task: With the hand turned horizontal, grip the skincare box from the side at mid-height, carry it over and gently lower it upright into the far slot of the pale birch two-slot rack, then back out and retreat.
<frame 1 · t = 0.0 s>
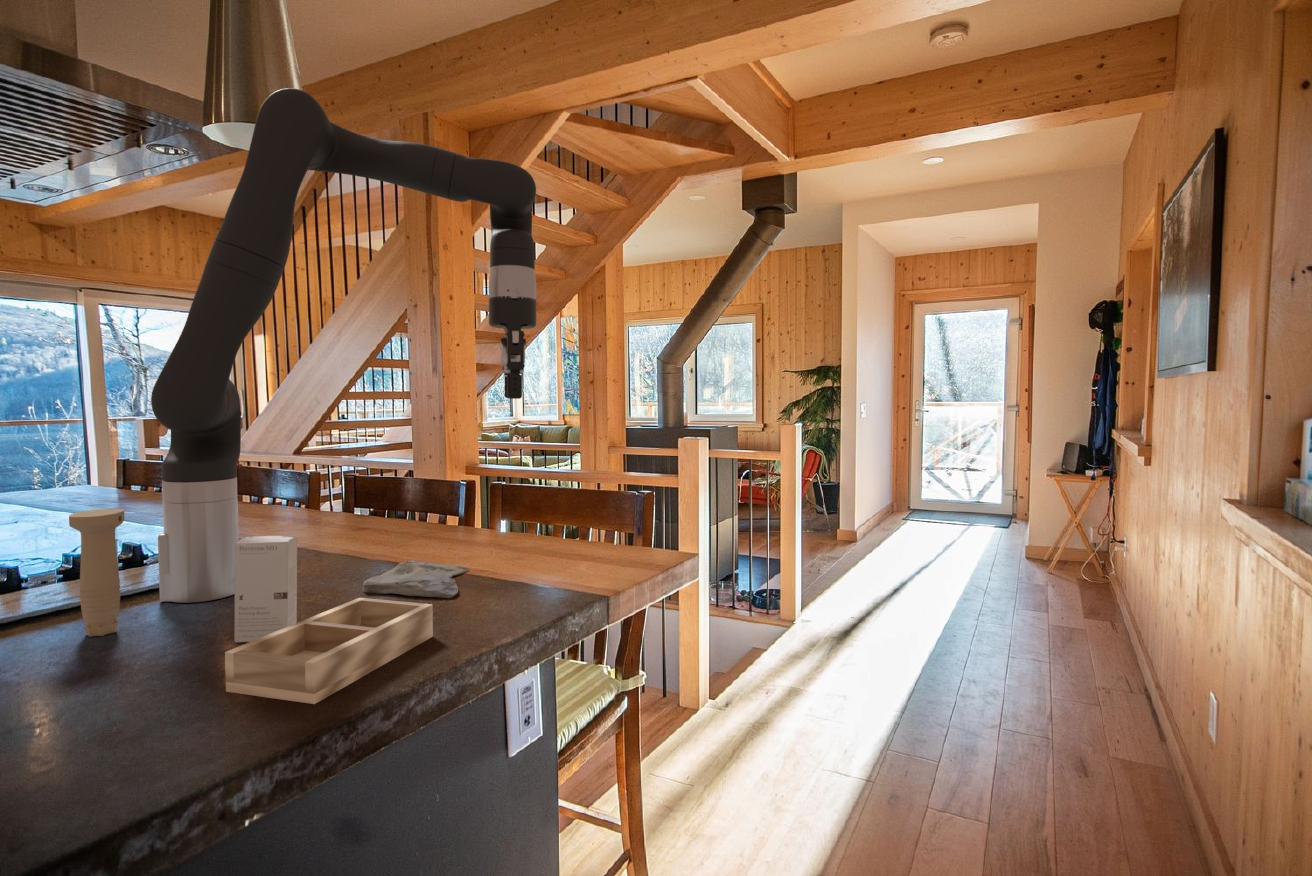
hand: (513, 398, 114), 29 cm above the kitchen island, tool pointing down, fingers open, 8 cm apart
handle: (101, 634, 87), on the kitchen island
fossil rock: (424, 586, 112), on the kitchen island
skincare box: (268, 637, 86), on the kitchen island
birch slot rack: (340, 661, 78), on the kitchen island
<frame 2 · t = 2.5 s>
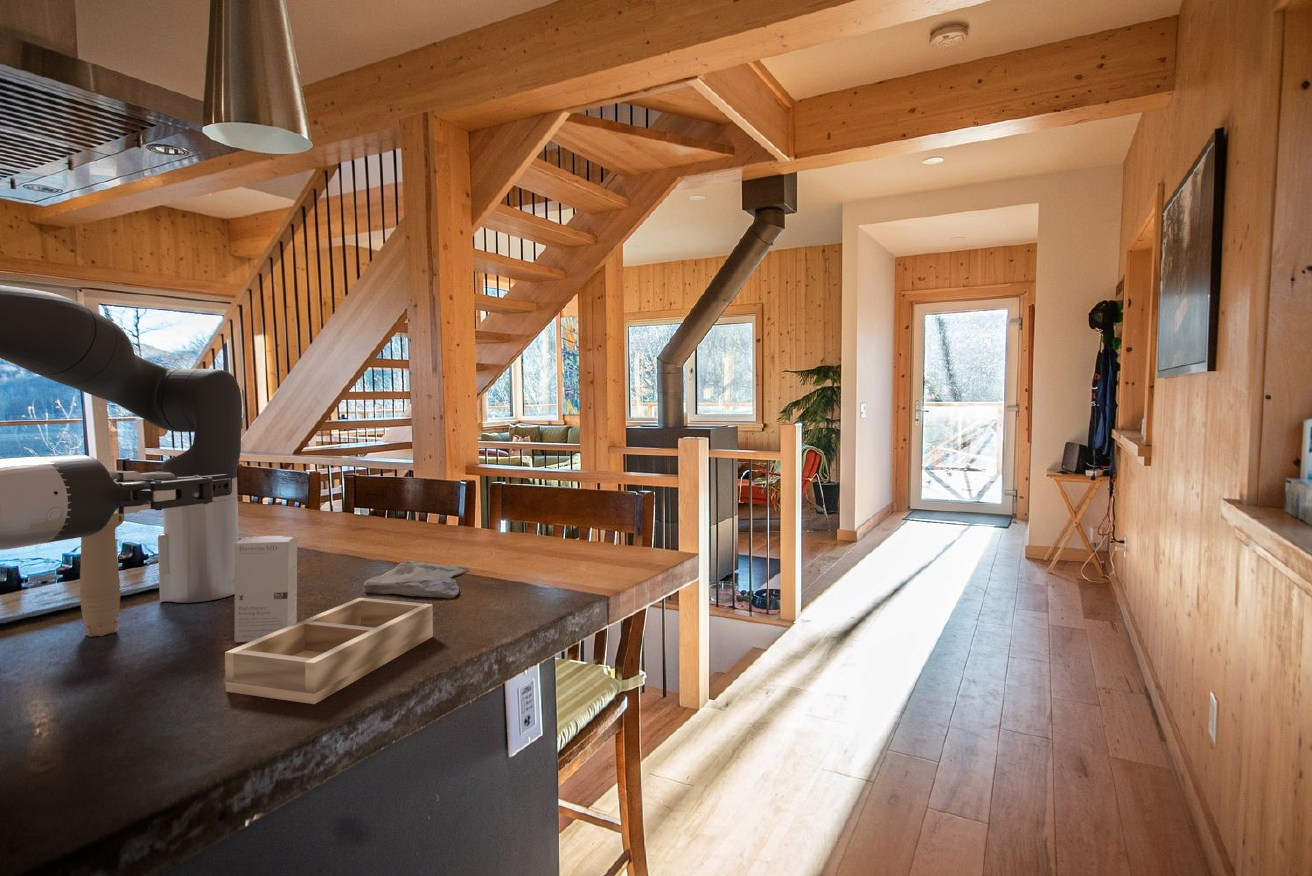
hand: (196, 482, 76), 20 cm above the kitchen island, tool horizontal, fingers open, 8 cm apart
nothing on the kitchen island moved.
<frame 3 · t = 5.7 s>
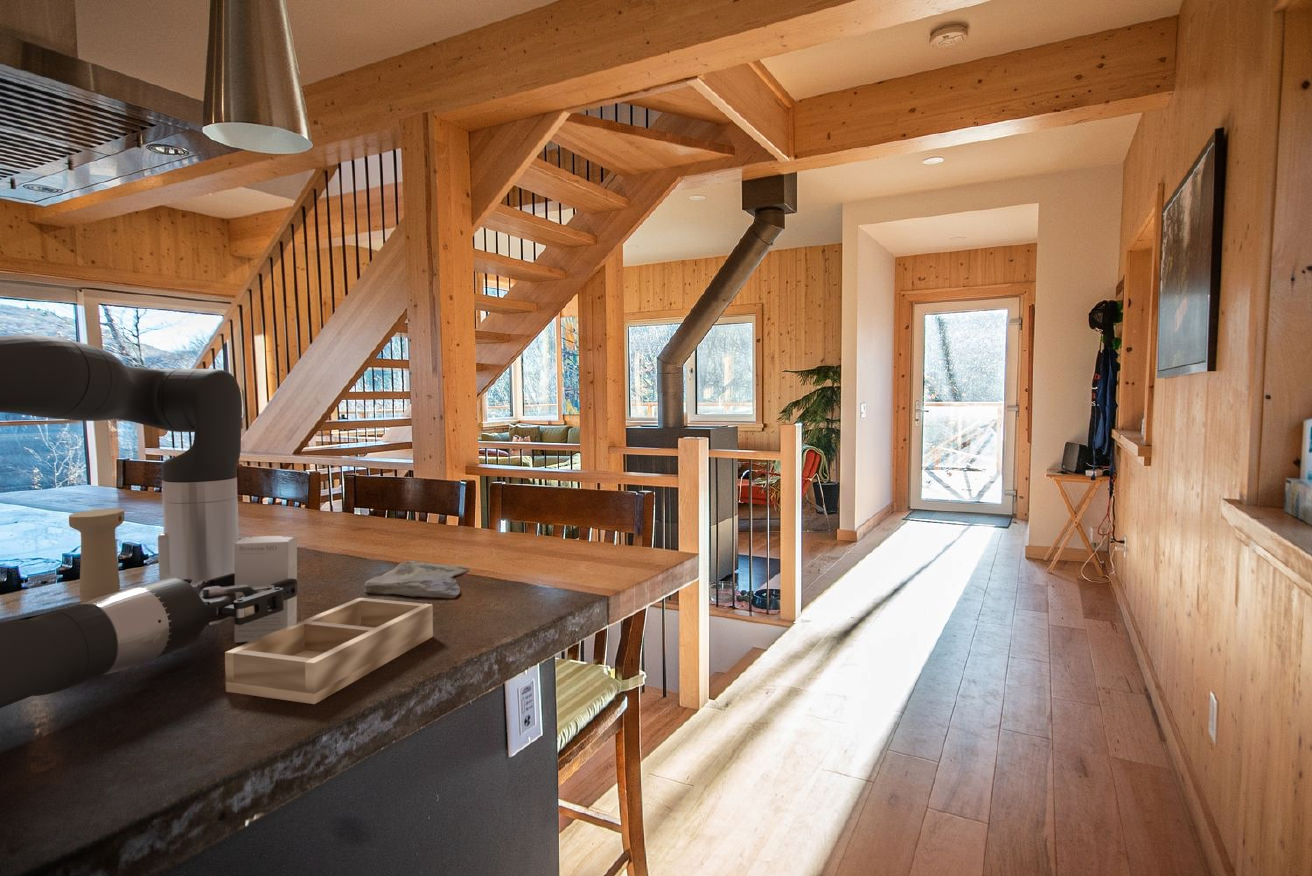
hand: (265, 584, 86), 7 cm above the kitchen island, tool horizontal, fingers open, 8 cm apart
nothing on the kitchen island moved.
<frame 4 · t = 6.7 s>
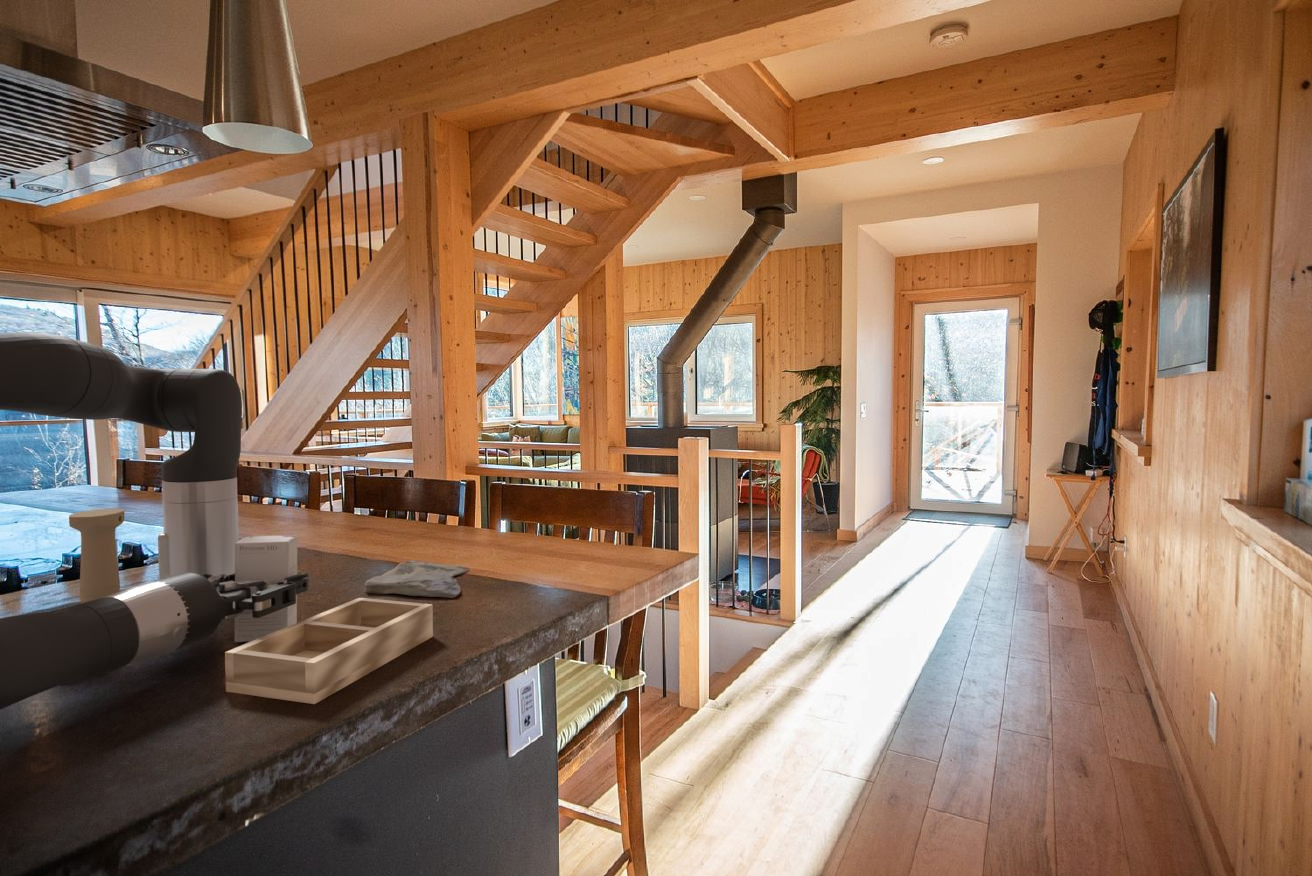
hand: (280, 579, 88), 7 cm above the kitchen island, tool horizontal, fingers closed on skincare box, 7 cm apart
skincare box: (268, 637, 86), on the kitchen island, touching gripper
everything else where it was.
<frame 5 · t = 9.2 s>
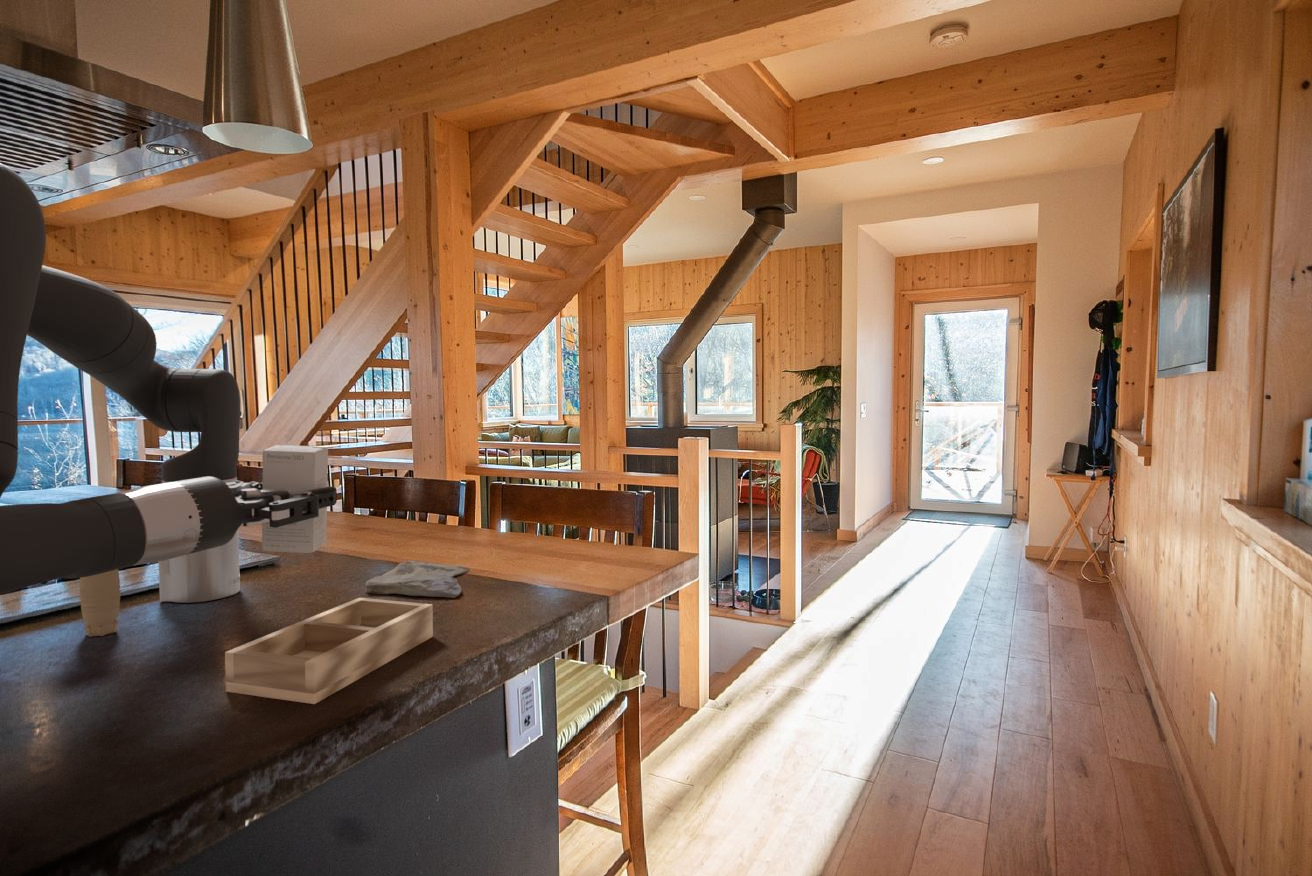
hand: (311, 491, 85), 18 cm above the kitchen island, tool horizontal, fingers closed on skincare box, 7 cm apart
skincare box: (296, 549, 84), point 11 cm above the kitchen island, touching gripper
everything else where it was.
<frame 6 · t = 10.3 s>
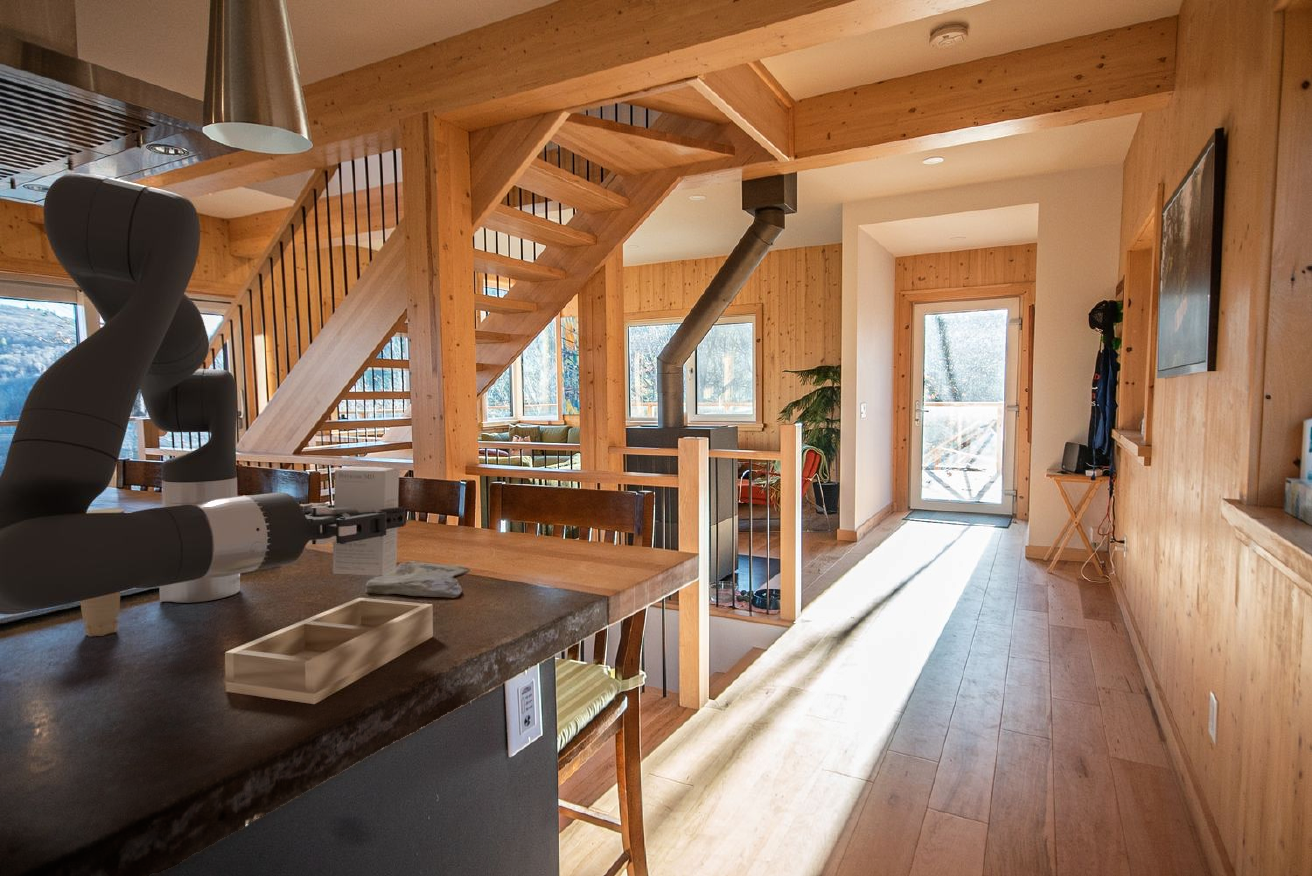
hand: (381, 513, 84), 16 cm above the kitchen island, tool horizontal, fingers closed on skincare box, 7 cm apart
skincare box: (366, 572, 82), point 9 cm above the kitchen island, touching gripper
everything else where it was.
when the fingers open (9 cm above the kitchen island, at t = 11.9 s): skincare box drops 2 cm, resting on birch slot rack.
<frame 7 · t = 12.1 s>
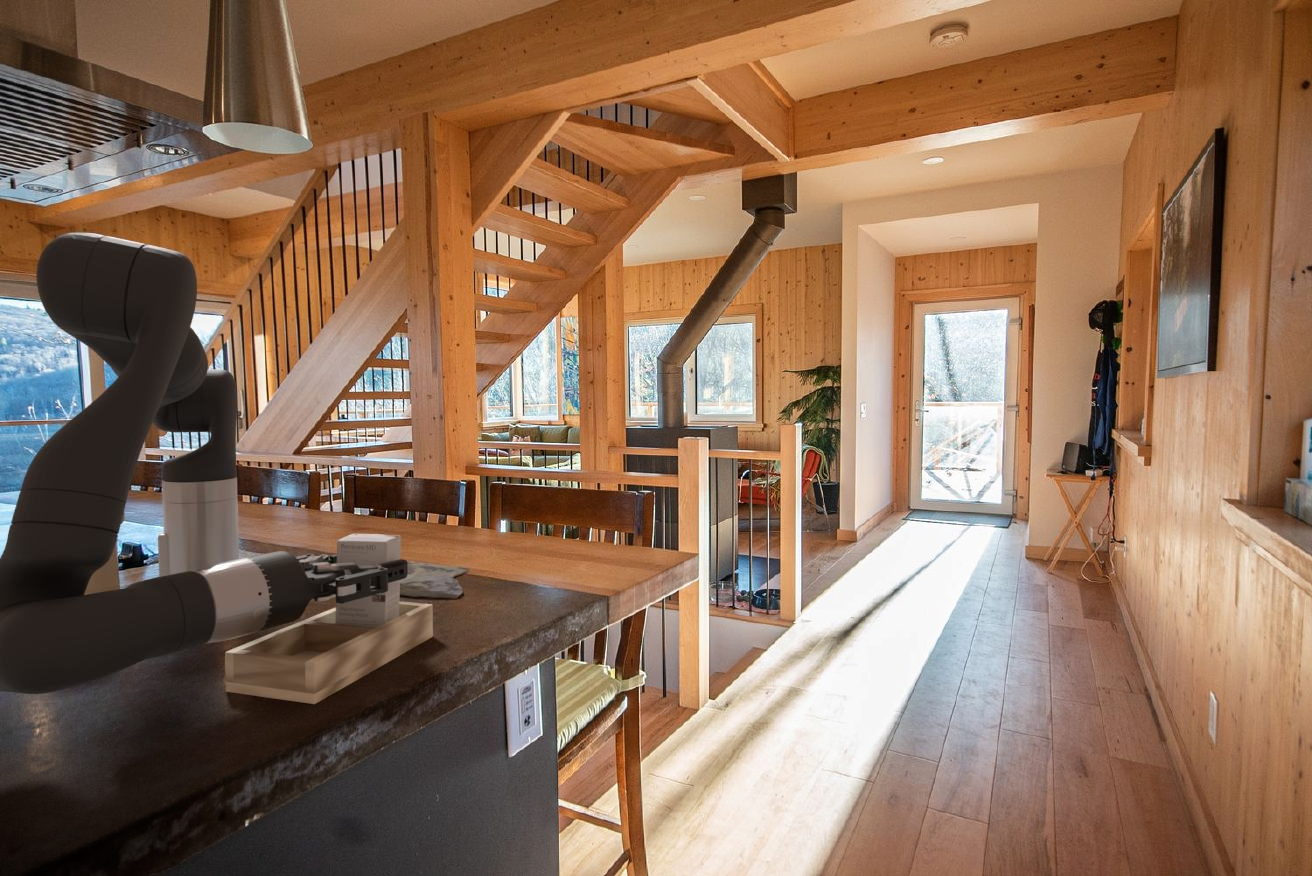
hand: (381, 563, 84), 10 cm above the kitchen island, tool horizontal, fingers open, 8 cm apart
skincare box: (369, 640, 82), point 1 cm above the kitchen island, touching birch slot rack, gripper
everything else where it was.
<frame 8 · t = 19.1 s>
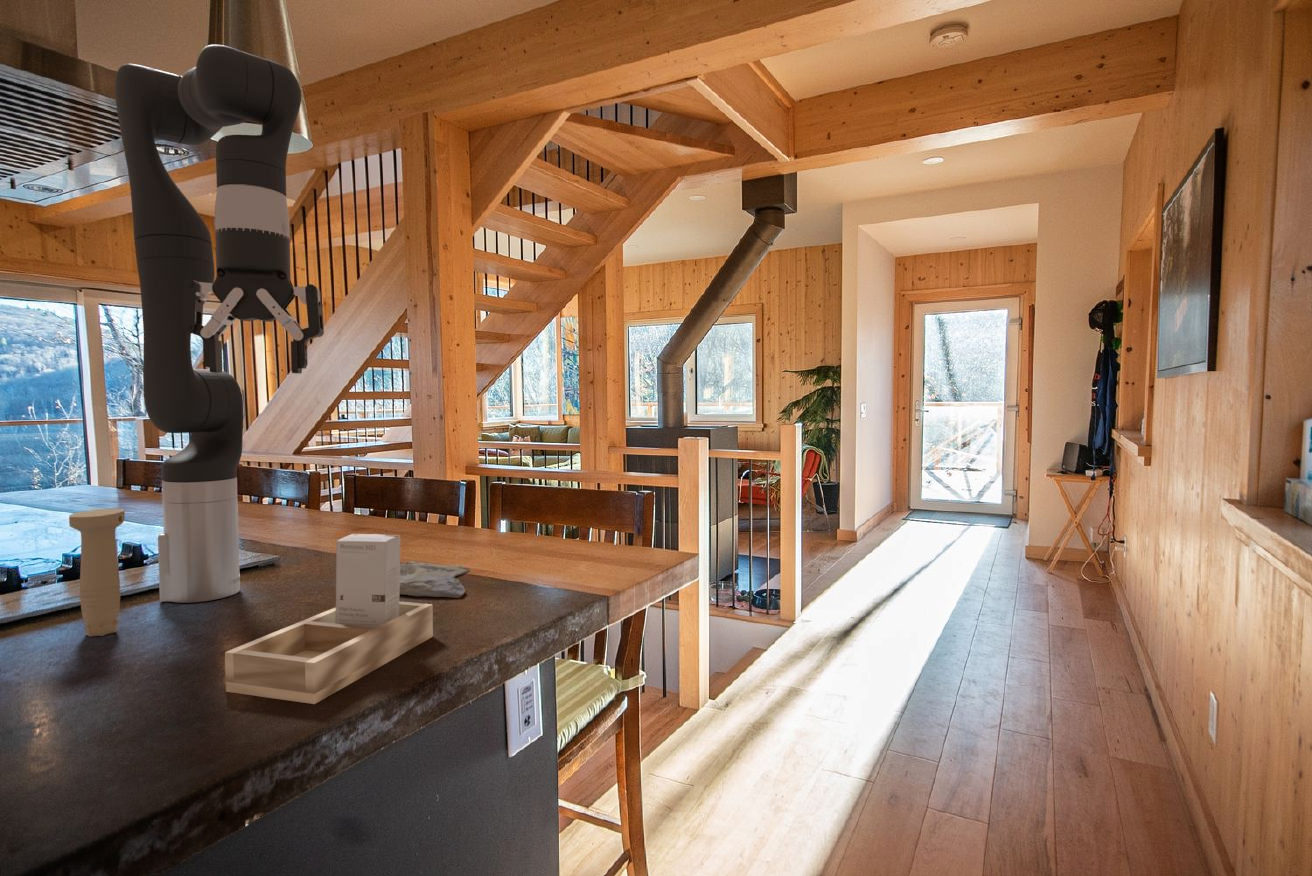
hand: (256, 372, 83), 32 cm above the kitchen island, tool pointing down, fingers open, 8 cm apart
skincare box: (369, 641, 82), point 1 cm above the kitchen island, touching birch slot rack
everything else where it was.
at the end: skincare box 0.4 cm from the target spot on the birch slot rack, point 0.8 cm above the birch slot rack's base; skincare box tilted 0°; the gripper is holding nothing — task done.
